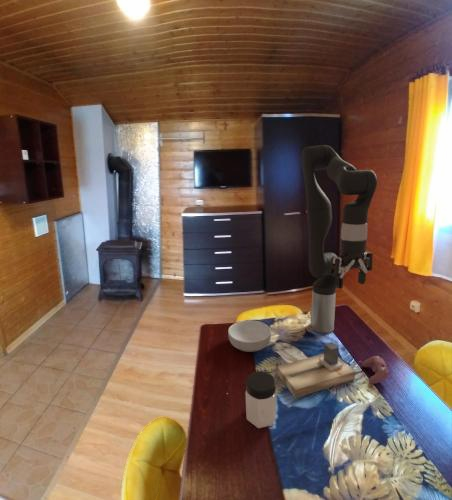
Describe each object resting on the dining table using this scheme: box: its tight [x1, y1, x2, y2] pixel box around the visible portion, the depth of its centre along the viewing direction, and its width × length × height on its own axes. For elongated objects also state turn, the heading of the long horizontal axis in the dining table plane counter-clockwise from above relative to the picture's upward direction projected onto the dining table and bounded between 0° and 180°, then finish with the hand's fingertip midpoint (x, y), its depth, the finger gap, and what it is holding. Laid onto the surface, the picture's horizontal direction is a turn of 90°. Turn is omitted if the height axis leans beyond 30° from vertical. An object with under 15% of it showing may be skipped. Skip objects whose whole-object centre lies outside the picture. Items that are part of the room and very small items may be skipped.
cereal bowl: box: [227, 319, 272, 353], centre depth 119 cm, size 17×17×7 cm
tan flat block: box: [276, 353, 356, 399], centre depth 101 cm, size 12×22×3 cm, turn 109°
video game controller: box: [361, 355, 389, 385], centre depth 100 cm, size 10×5×7 cm, turn 170°
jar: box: [245, 371, 277, 429], centre depth 85 cm, size 9×8×12 cm
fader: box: [319, 341, 343, 371], centre depth 101 cm, size 6×5×7 cm
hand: (350, 285), depth 98 cm, fingers open, 8 cm apart
